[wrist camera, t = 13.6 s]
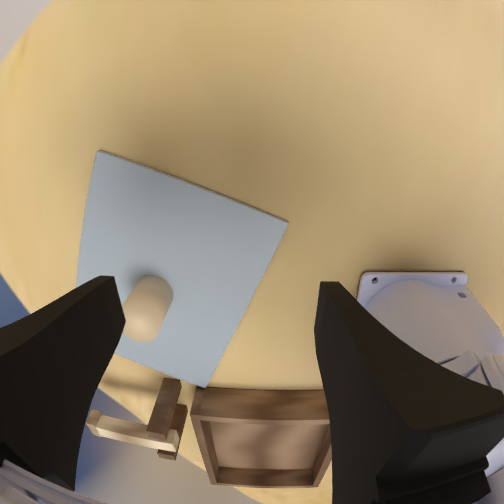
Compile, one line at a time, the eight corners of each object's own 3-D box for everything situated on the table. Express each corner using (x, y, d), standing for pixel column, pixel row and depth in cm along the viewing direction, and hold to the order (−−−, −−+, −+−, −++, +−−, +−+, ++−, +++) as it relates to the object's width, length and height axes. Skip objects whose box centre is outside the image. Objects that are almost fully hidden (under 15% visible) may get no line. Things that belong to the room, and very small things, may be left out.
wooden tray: (345, 385, 27) (355, 441, 21) (316, 466, 35) (318, 505, 29) (164, 378, 27) (145, 431, 22) (191, 460, 36) (184, 498, 30)
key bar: (176, 426, 24) (172, 442, 22) (180, 438, 25) (176, 453, 23) (92, 409, 24) (85, 422, 23) (99, 421, 25) (93, 434, 24)
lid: (287, 218, 21) (292, 251, 16) (207, 380, 28) (198, 421, 24) (104, 148, 19) (63, 162, 15) (78, 327, 26) (55, 361, 22)
